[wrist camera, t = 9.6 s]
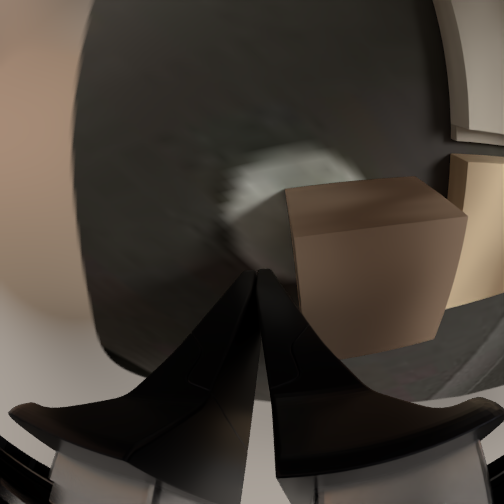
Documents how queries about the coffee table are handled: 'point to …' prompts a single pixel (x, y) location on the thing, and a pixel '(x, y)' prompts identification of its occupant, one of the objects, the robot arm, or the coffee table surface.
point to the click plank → (478, 226)
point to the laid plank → (474, 67)
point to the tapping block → (374, 261)
